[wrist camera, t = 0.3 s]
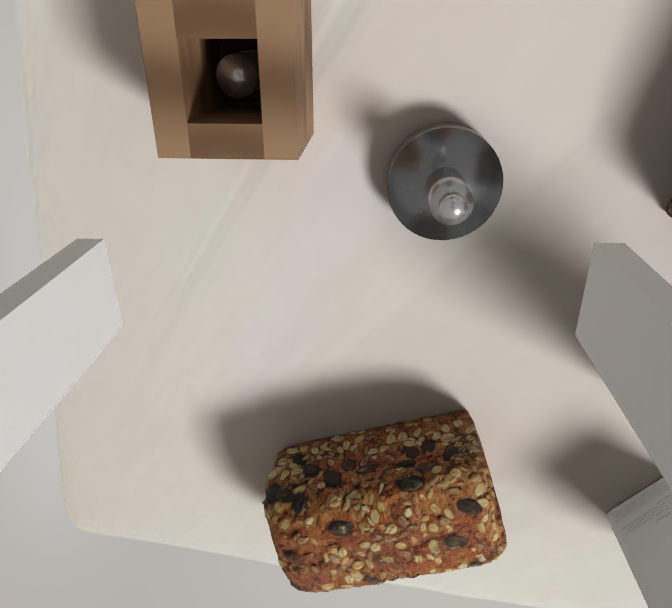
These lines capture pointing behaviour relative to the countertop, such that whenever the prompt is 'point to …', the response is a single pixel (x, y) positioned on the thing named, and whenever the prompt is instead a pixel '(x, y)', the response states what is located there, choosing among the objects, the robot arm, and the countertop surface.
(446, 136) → the hub
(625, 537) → the supplement box
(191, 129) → the collar
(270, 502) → the bread
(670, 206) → the letter holder
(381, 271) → the countertop surface
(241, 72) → the grey rounded piece
